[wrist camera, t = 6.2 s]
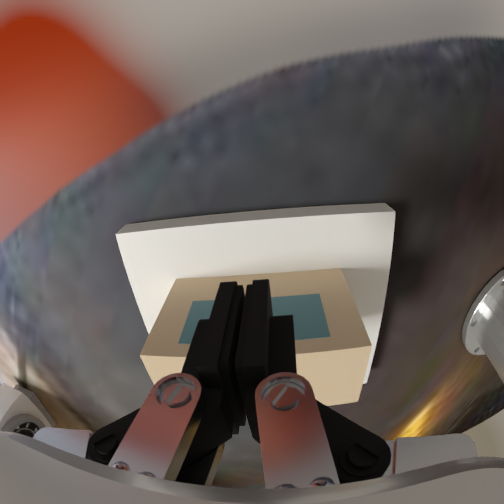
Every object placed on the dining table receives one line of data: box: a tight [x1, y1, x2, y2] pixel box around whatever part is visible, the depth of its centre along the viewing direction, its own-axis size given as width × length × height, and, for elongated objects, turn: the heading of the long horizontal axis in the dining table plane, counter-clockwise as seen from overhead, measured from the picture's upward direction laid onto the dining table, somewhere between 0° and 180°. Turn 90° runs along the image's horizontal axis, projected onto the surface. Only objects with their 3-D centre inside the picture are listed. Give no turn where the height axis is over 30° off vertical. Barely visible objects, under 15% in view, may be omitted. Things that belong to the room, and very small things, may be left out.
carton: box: [140, 268, 372, 406], centre depth 18 cm, size 12×8×5 cm
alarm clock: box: [0, 383, 56, 438], centre depth 30 cm, size 18×8×20 cm, turn 178°
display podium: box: [115, 203, 396, 384], centre depth 24 cm, size 20×18×2 cm
